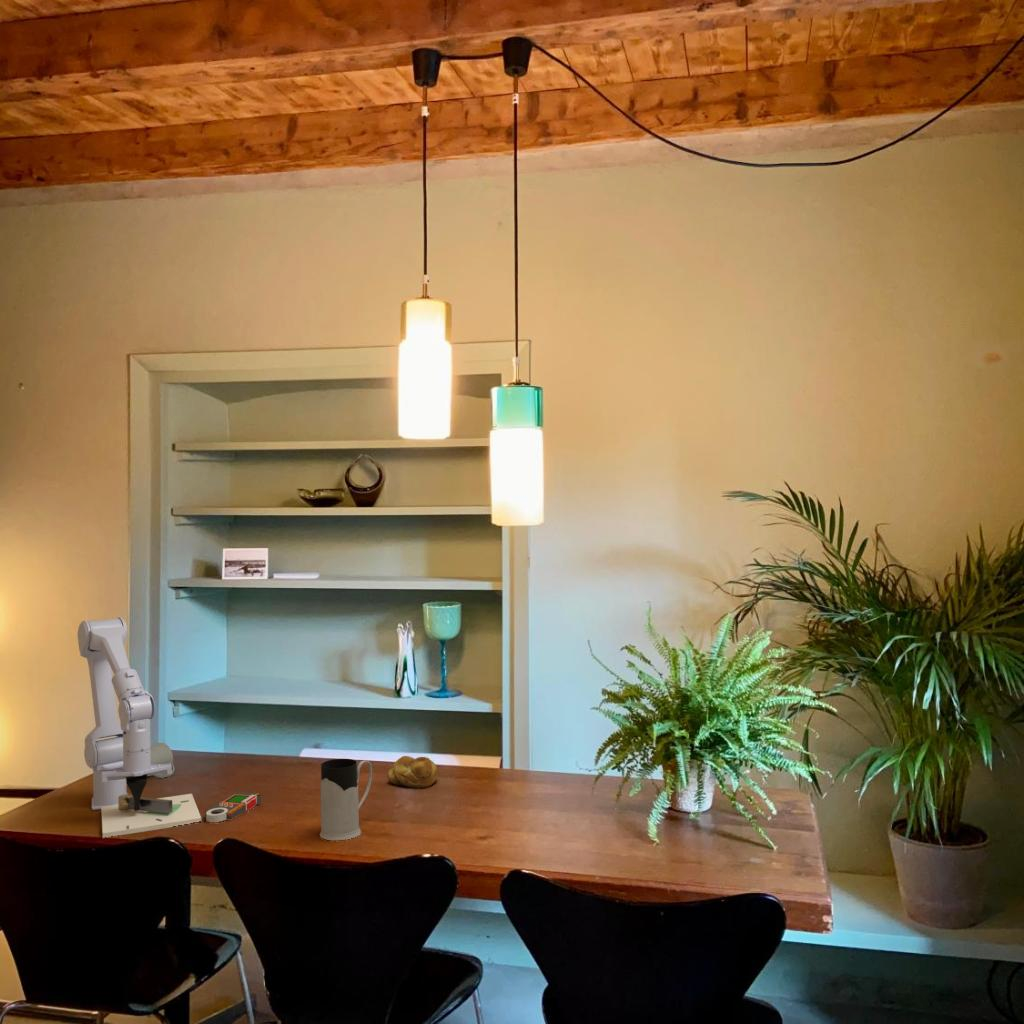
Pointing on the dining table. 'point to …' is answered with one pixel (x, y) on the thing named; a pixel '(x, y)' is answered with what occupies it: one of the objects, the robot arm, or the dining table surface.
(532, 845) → the dining table surface
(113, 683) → the robot arm
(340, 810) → the tall beer stein
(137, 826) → the dial plate
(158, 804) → the grey metal bar
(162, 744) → the ceramic mug
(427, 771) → the bread roll
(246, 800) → the electronic device
